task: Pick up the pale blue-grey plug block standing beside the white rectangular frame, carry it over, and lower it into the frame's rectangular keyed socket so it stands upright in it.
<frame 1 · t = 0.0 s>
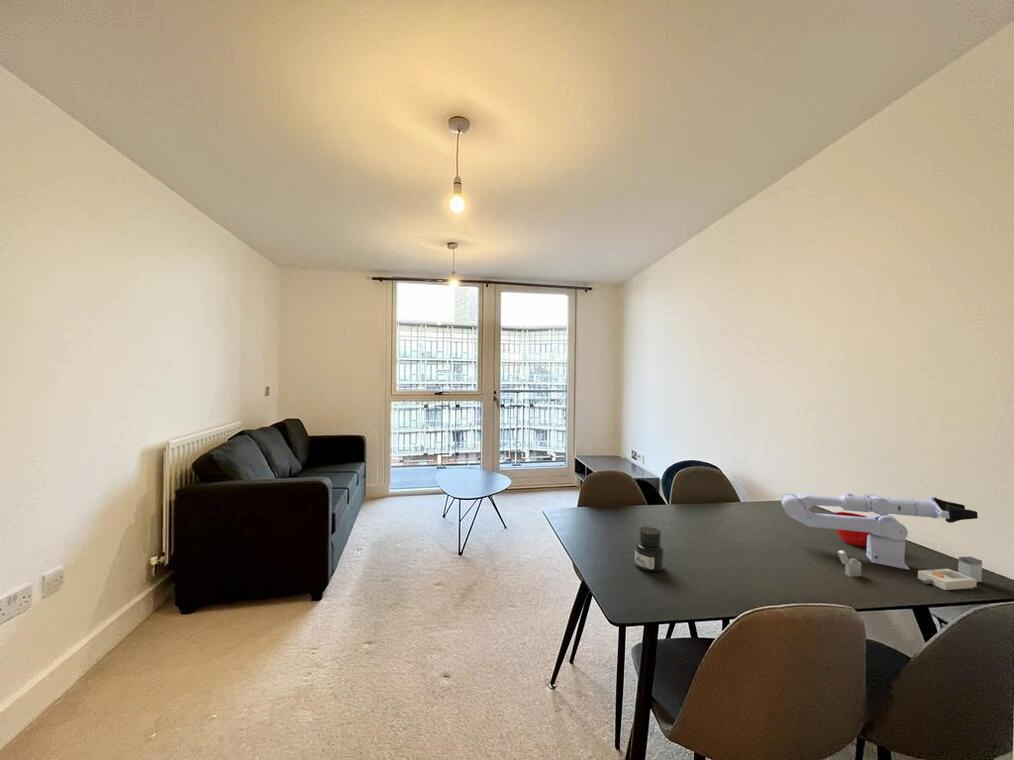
hand: (970, 511, 128), 22 cm above the table, tool horizontal, fingers open, 7 cm apart
white rectangular frame: (946, 582, 124), on the table
plug: (969, 580, 126), on the table
ink bottle: (648, 567, 130), on the table
ceramic cup: (856, 545, 153), on the table
lighter: (848, 575, 128), on the table
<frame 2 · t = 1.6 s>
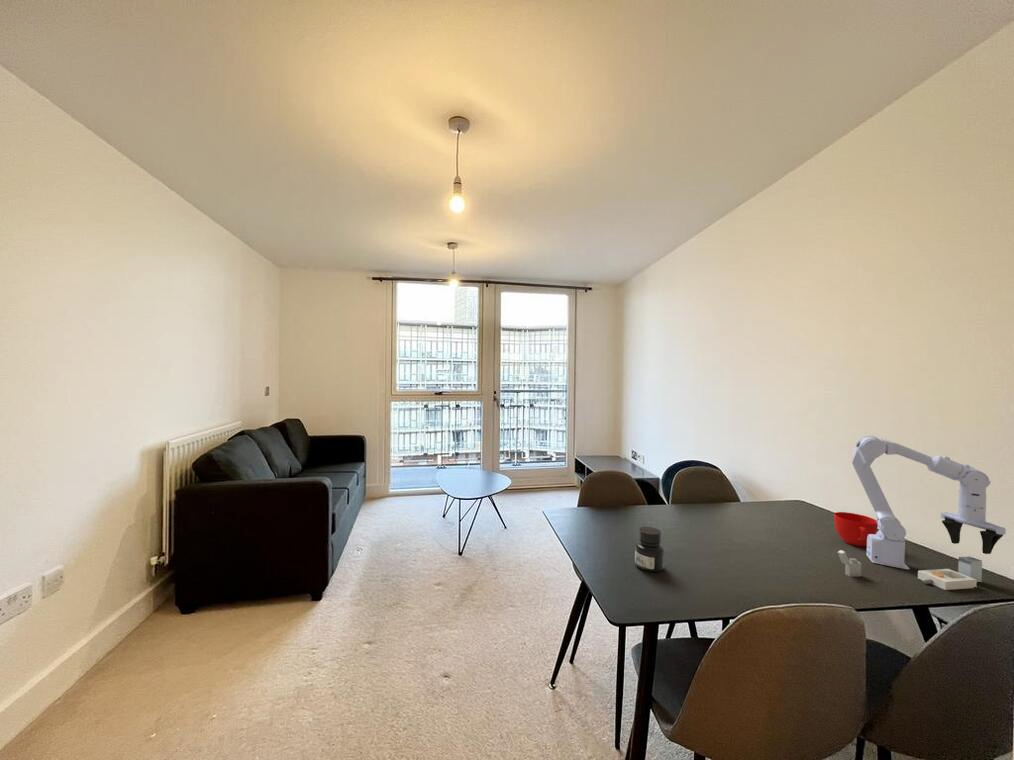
hand: (970, 548, 126), 10 cm above the table, tool pointing down, fingers open, 7 cm apart
nothing on the table moved.
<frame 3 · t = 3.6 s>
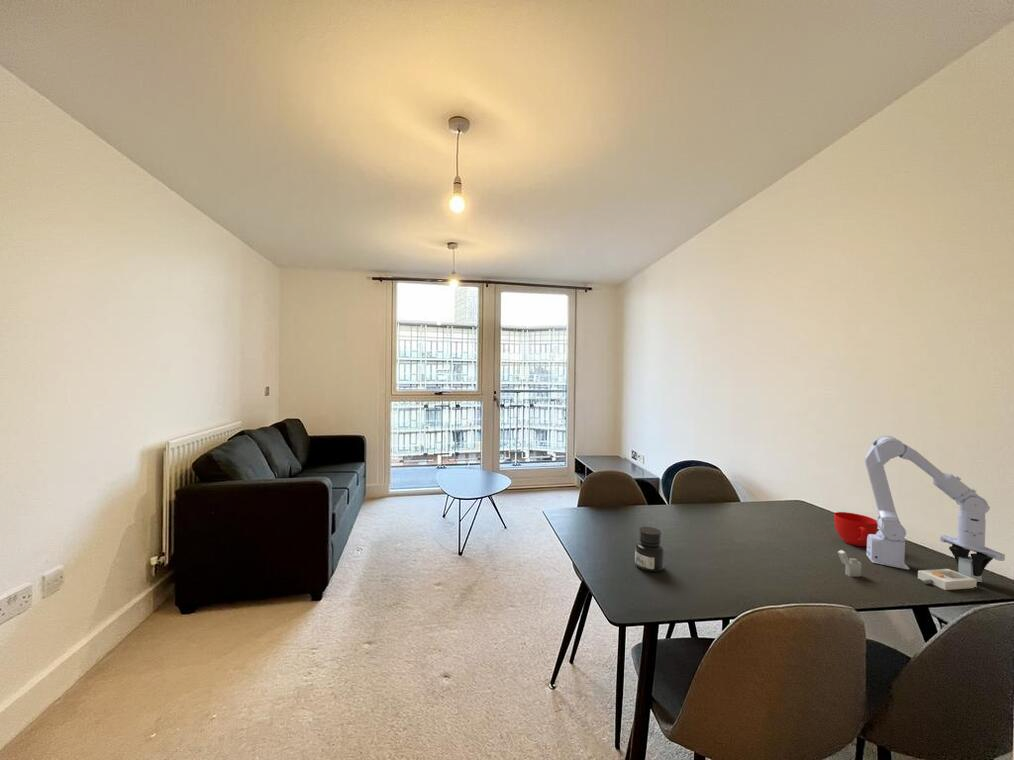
hand: (969, 572, 126), 2 cm above the table, tool pointing down, fingers closed on plug, 3 cm apart
plug: (969, 580, 126), on the table, touching gripper
everything else where it was.
when the fingers open (4 cm above the table, at t = 7.5 s): plug stays where it is, resting in white rectangular frame.
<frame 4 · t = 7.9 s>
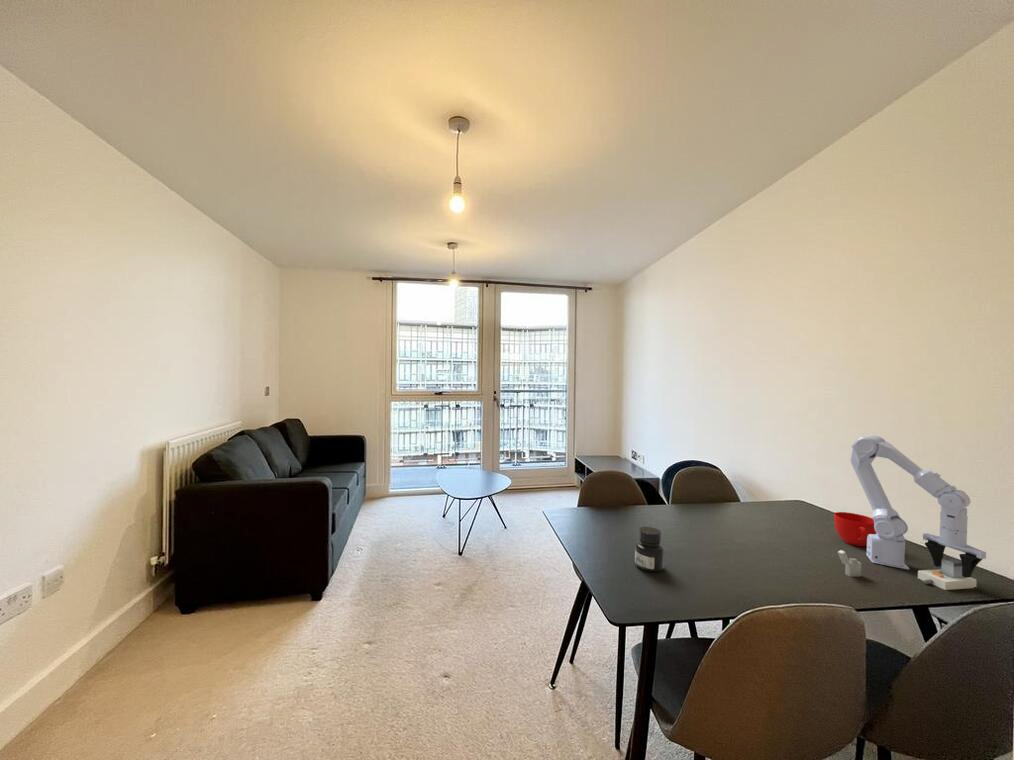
hand: (951, 571, 125), 4 cm above the table, tool pointing down, fingers open, 6 cm apart
plug: (952, 582, 125), resting in white rectangular frame
everything else where it was.
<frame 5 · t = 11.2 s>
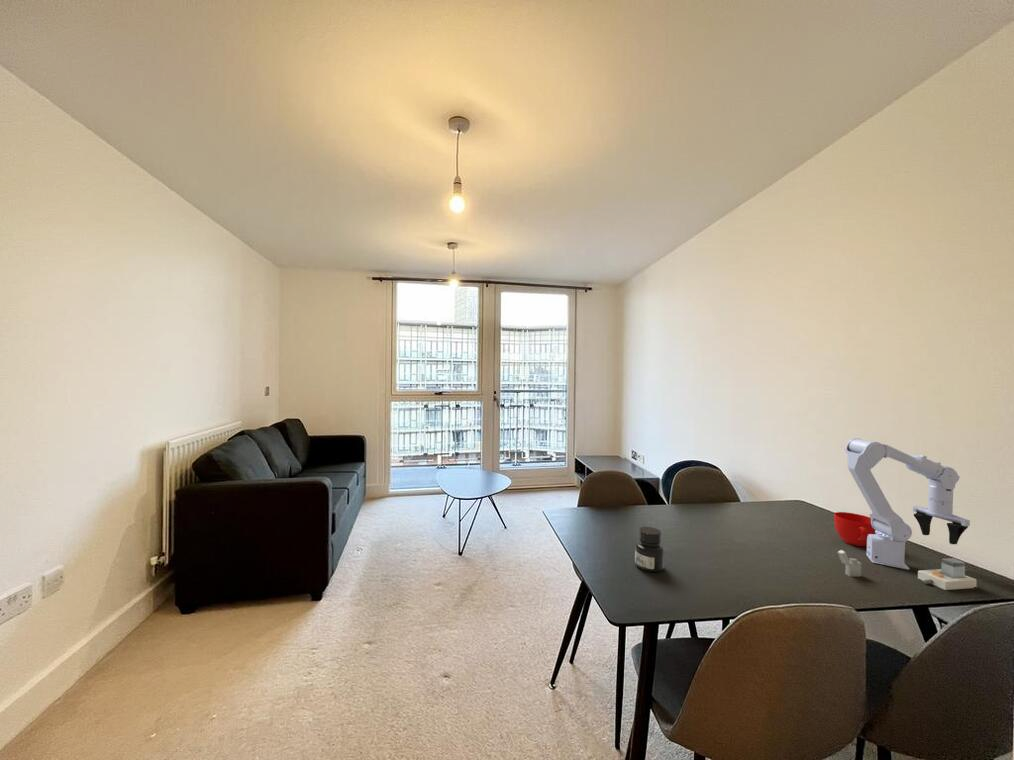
hand: (939, 539, 136), 9 cm above the table, tool pointing down, fingers open, 7 cm apart
nothing on the table moved.
at the end: plug 0.5 cm from the target spot, resting in white rectangular frame; plug tilted 0°; the gripper is holding nothing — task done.
